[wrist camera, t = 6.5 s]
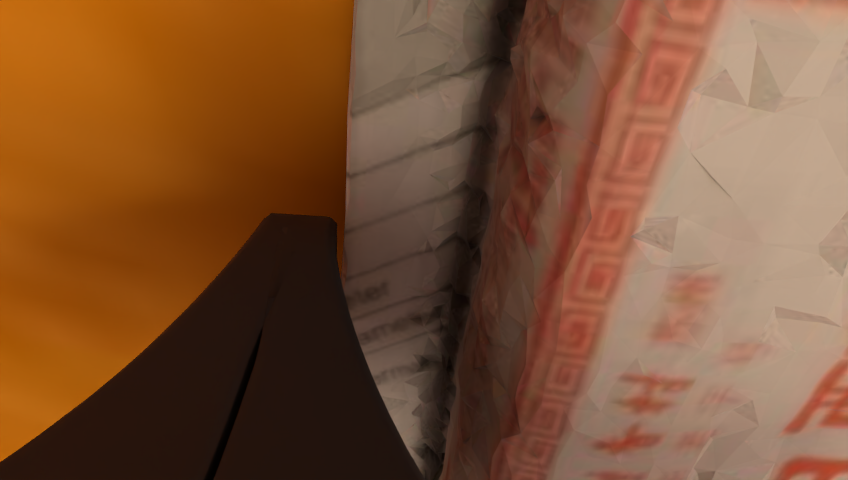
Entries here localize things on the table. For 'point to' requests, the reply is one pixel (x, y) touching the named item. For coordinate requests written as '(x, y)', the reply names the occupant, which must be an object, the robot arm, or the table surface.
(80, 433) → the robot arm
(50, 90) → the table surface
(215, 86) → the table surface
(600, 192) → the packaged product
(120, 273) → the table surface
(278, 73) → the table surface
